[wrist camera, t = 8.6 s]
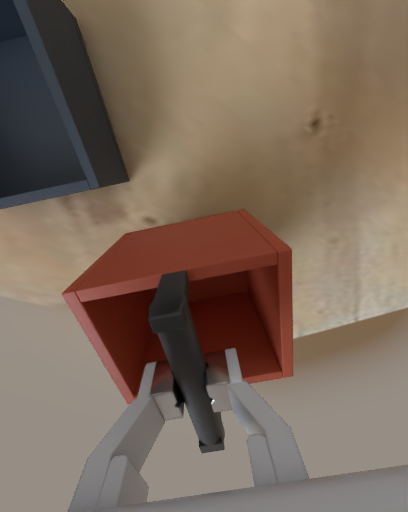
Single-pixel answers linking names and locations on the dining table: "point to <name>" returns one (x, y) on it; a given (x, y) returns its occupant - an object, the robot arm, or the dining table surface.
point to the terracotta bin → (190, 307)
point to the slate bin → (50, 108)
